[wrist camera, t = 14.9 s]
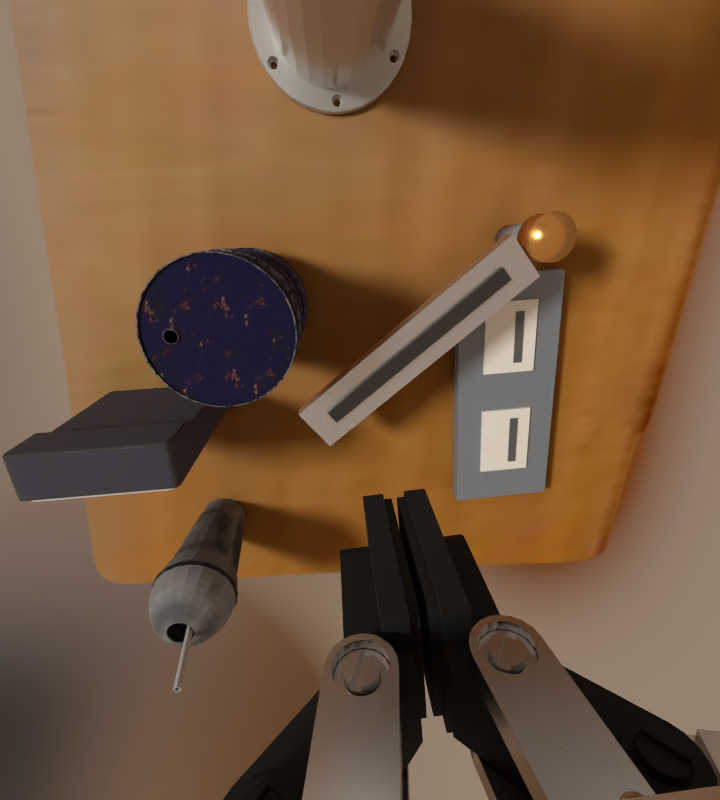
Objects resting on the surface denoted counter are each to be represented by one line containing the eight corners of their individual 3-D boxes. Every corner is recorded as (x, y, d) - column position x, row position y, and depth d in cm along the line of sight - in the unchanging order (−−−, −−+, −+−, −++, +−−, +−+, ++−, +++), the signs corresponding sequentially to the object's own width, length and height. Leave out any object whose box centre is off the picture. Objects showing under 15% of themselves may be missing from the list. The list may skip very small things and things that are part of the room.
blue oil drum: (304, 245, 39) (291, 245, 25) (313, 350, 42) (306, 403, 28) (192, 250, 38) (115, 253, 24) (211, 356, 42) (152, 413, 28)
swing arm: (544, 200, 33) (560, 197, 31) (570, 242, 34) (586, 242, 32) (299, 407, 37) (297, 417, 35) (329, 438, 39) (330, 449, 37)
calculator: (119, 425, 43) (19, 512, 29) (108, 385, 42) (-3, 456, 28) (228, 417, 44) (181, 498, 30) (221, 377, 42) (168, 442, 28)
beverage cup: (188, 487, 46) (94, 652, 28) (256, 487, 47) (209, 649, 28) (194, 543, 49) (111, 729, 30) (259, 542, 49) (217, 724, 31)
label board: (455, 229, 39) (476, 226, 34) (561, 221, 40) (599, 217, 34) (453, 492, 49) (469, 525, 43) (538, 484, 49) (565, 515, 44)
